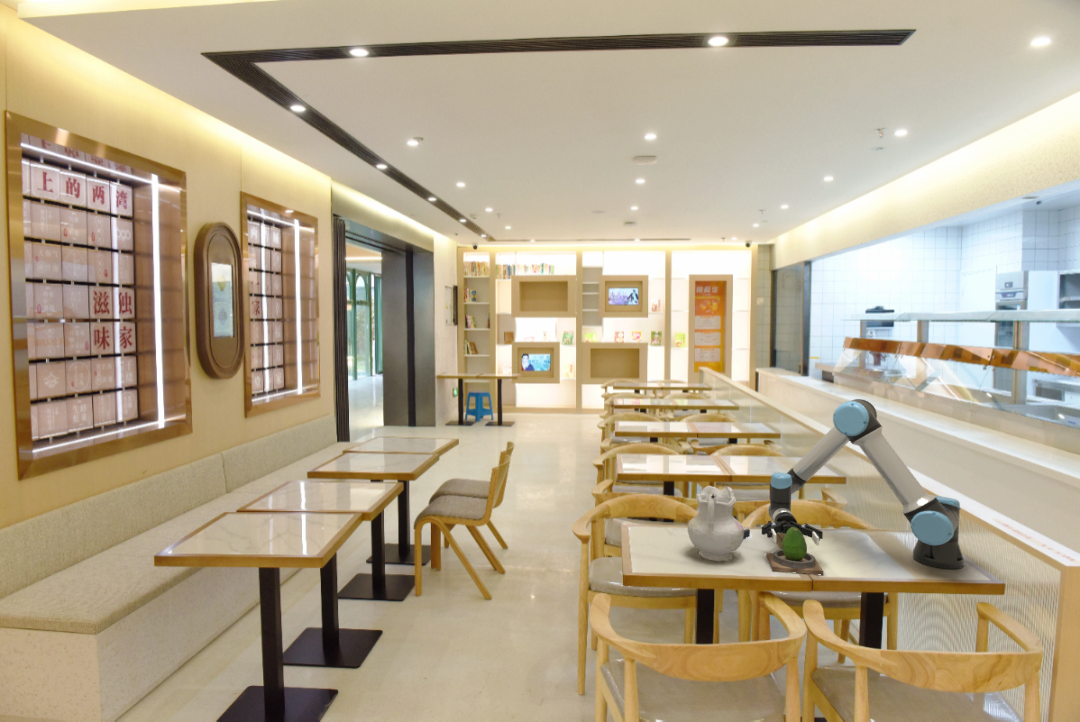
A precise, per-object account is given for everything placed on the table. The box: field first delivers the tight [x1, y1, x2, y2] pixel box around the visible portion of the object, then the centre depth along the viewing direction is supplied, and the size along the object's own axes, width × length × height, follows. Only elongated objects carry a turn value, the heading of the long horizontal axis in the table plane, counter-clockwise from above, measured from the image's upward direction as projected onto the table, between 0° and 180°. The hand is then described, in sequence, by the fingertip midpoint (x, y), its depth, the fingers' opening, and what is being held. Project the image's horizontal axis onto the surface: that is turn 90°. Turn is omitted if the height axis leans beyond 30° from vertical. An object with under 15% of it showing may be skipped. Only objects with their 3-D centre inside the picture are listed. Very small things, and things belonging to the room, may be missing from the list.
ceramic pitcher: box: [687, 485, 744, 562], centre depth 221 cm, size 22×20×25 cm
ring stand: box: [765, 548, 825, 576], centre depth 214 cm, size 16×14×4 cm
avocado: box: [781, 527, 808, 561], centre depth 213 cm, size 8×8×12 cm
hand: (796, 540), depth 210 cm, fingers open, 13 cm apart
